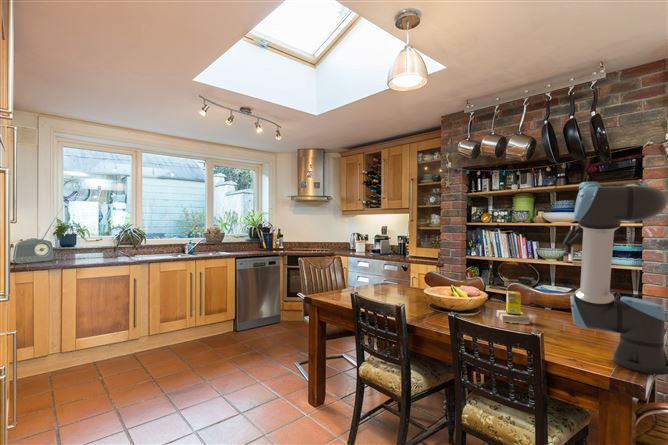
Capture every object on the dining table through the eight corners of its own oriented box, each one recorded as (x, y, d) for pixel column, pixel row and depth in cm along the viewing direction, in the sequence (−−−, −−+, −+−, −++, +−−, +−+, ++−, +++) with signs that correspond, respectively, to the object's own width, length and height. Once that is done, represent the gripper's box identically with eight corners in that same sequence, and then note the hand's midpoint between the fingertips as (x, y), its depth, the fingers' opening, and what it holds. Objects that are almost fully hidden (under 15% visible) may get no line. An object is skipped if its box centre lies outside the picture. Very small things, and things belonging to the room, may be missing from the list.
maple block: (529, 325, 168) (529, 317, 168) (502, 323, 170) (503, 315, 170) (520, 319, 180) (521, 311, 180) (496, 317, 182) (496, 309, 182)
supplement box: (520, 315, 171) (521, 294, 171) (507, 314, 173) (508, 293, 173) (518, 312, 177) (519, 291, 176) (505, 311, 179) (506, 290, 178)
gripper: (614, 216, 159) (613, 261, 159) (555, 215, 164) (553, 259, 164) (624, 216, 152) (623, 263, 152) (561, 214, 157) (560, 261, 157)
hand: (587, 261), depth 158 cm, fingers open, 13 cm apart
